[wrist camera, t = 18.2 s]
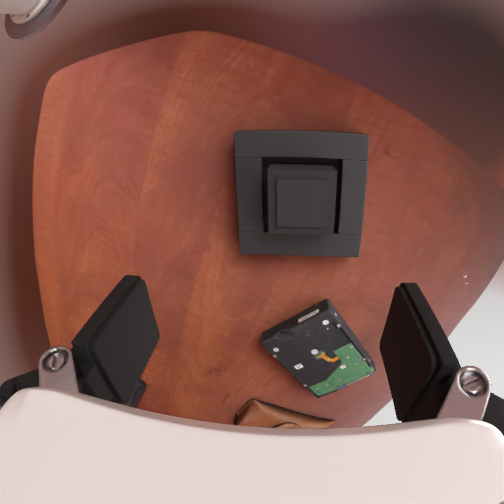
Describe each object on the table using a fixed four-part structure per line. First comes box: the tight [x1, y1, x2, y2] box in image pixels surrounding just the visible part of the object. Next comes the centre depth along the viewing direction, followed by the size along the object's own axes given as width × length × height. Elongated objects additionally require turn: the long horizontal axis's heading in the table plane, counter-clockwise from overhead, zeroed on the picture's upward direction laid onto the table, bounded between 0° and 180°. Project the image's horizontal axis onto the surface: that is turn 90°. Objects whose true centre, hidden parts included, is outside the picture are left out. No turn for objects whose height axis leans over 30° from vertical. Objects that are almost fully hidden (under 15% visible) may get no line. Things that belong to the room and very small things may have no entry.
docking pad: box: [234, 130, 369, 257], centre depth 28 cm, size 12×12×3 cm
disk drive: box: [261, 299, 376, 398], centre depth 37 cm, size 10×3×15 cm
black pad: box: [267, 162, 337, 235], centre depth 27 cm, size 6×6×4 cm
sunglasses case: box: [234, 399, 335, 429], centre depth 47 cm, size 18×7×7 cm, turn 68°
